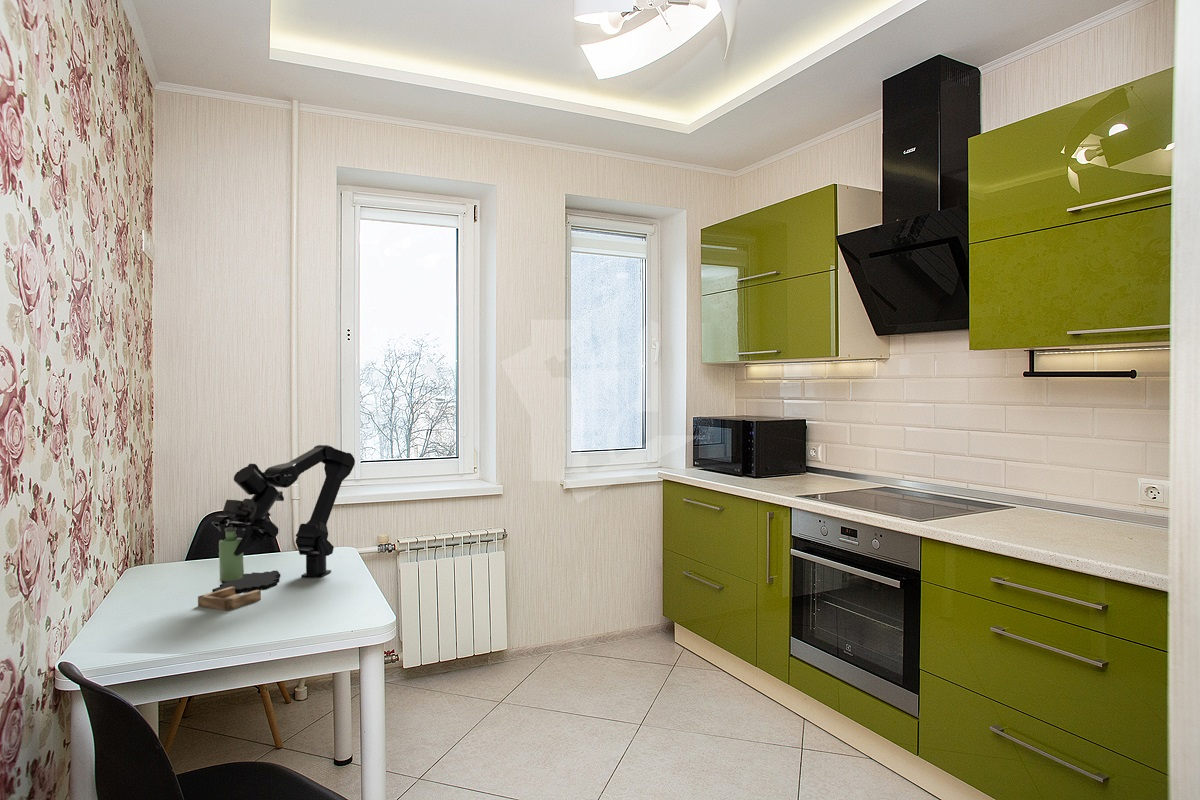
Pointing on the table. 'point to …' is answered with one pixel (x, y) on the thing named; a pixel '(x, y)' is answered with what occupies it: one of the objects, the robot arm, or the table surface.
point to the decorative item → (252, 582)
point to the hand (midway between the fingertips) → (226, 554)
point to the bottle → (230, 557)
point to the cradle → (228, 599)
